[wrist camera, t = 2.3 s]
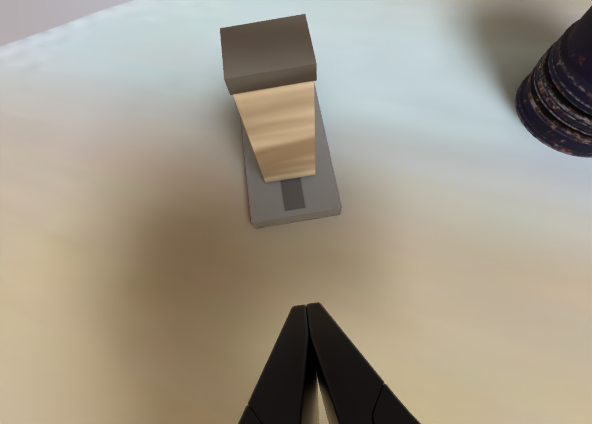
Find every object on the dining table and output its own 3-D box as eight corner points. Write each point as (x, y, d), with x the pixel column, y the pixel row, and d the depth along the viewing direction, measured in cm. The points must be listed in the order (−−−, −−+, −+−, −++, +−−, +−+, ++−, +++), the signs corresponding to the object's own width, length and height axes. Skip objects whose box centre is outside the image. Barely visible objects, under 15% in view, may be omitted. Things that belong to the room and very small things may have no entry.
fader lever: (316, 175, 24) (316, 63, 14) (264, 184, 24) (224, 79, 14) (310, 141, 25) (305, 14, 15) (260, 149, 25) (219, 28, 15)
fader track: (340, 214, 25) (341, 205, 23) (255, 228, 25) (249, 220, 23) (309, 69, 30) (308, 52, 28) (239, 80, 30) (234, 64, 28)
